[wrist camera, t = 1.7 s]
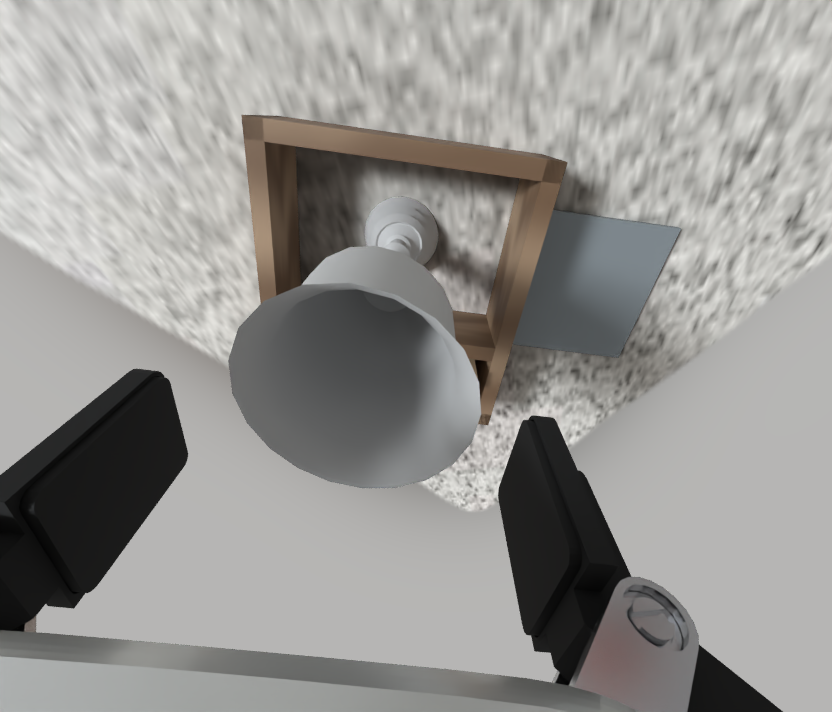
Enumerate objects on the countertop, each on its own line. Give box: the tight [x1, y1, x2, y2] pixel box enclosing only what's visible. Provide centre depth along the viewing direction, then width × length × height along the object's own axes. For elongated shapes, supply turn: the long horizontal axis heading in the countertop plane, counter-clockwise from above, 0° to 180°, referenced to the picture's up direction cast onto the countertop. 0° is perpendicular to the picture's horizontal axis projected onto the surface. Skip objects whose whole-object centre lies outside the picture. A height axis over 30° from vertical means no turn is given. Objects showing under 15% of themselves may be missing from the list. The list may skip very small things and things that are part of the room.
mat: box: [513, 210, 681, 358], centre depth 27 cm, size 10×9×1 cm
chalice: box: [228, 196, 481, 488], centre depth 18 cm, size 7×7×18 cm
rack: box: [242, 115, 567, 425], centre depth 25 cm, size 18×16×5 cm
